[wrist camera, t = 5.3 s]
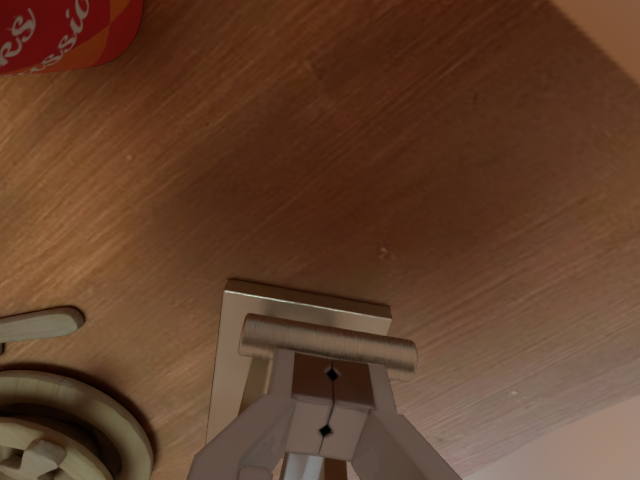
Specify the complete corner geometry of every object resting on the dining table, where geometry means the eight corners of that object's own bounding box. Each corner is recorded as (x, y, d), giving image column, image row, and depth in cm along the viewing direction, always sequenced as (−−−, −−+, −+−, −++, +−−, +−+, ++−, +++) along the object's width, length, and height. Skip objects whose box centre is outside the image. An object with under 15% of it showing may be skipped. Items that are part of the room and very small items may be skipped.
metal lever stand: (228, 277, 20) (99, 565, 8) (389, 306, 21) (479, 606, 9) (209, 431, 25) (111, 749, 13) (341, 449, 26) (358, 767, 14)
